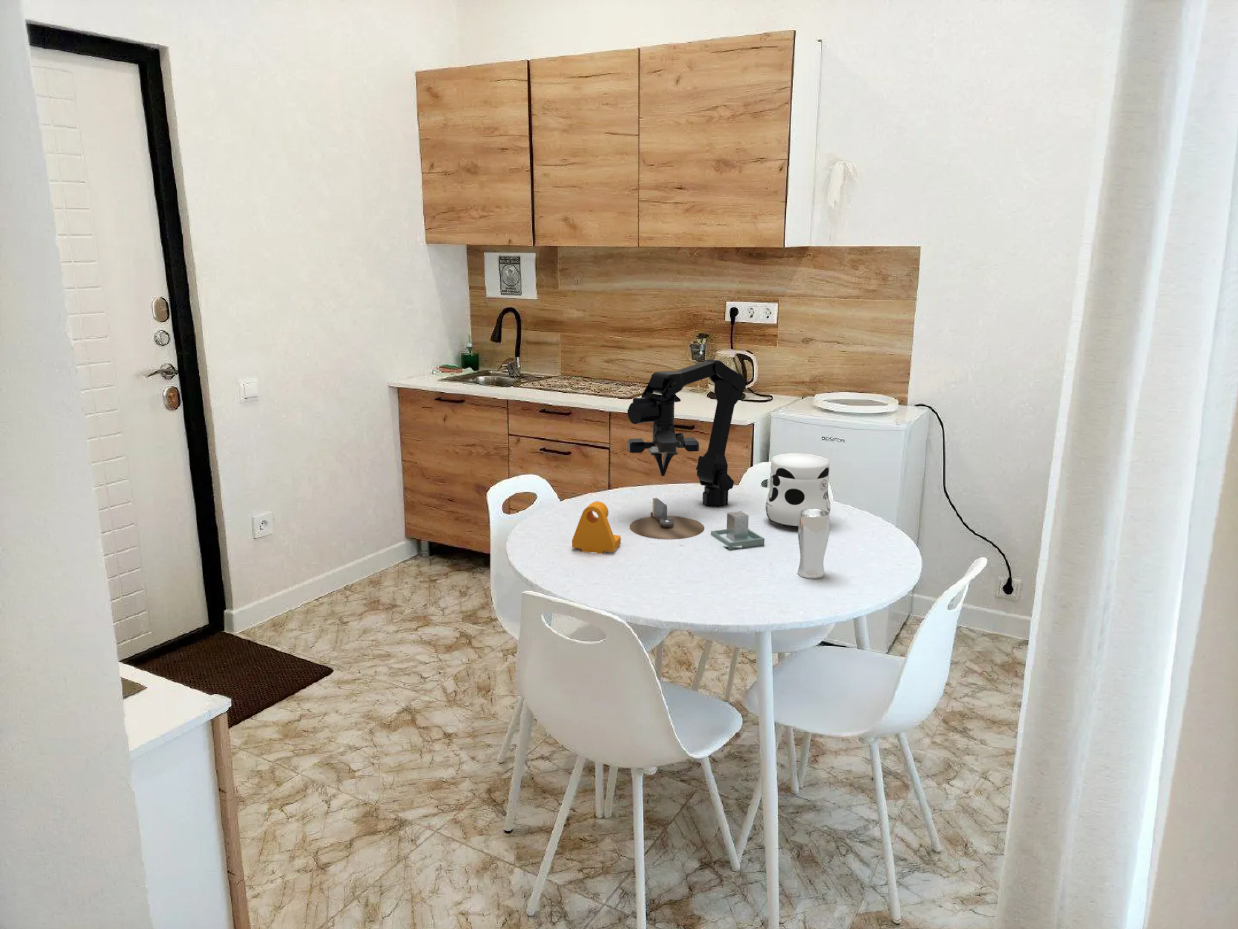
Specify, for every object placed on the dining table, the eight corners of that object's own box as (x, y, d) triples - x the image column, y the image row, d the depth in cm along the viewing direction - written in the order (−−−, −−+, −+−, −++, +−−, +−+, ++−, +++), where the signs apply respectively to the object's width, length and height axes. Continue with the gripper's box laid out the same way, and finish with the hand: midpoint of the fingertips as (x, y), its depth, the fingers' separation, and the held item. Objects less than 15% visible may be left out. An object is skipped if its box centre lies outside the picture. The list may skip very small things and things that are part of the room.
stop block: (740, 536, 226) (740, 511, 224) (747, 541, 222) (748, 515, 220) (726, 538, 224) (727, 512, 222) (733, 543, 221) (734, 517, 219)
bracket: (621, 545, 221) (621, 500, 218) (613, 555, 214) (613, 508, 211) (581, 541, 224) (581, 496, 221) (572, 550, 217) (571, 504, 214)
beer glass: (793, 568, 205) (796, 507, 201) (823, 569, 205) (827, 508, 201) (798, 579, 198) (801, 516, 195) (829, 580, 198) (833, 517, 194)
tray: (744, 534, 229) (744, 526, 229) (764, 545, 220) (764, 538, 220) (710, 538, 226) (711, 531, 225) (729, 550, 217) (729, 543, 216)
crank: (675, 526, 231) (676, 508, 229) (663, 528, 229) (663, 509, 228) (660, 515, 241) (660, 497, 239) (648, 516, 239) (648, 498, 238)
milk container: (842, 525, 236) (847, 461, 232) (797, 537, 227) (800, 470, 222) (796, 510, 250) (799, 449, 246) (751, 520, 241) (754, 457, 236)
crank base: (684, 515, 245) (684, 508, 244) (717, 537, 227) (717, 529, 226) (618, 523, 238) (618, 516, 237) (647, 546, 219) (647, 538, 219)
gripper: (632, 426, 224) (632, 484, 228) (703, 424, 226) (702, 482, 230) (627, 418, 235) (627, 474, 238) (695, 416, 237) (694, 472, 241)
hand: (662, 475), depth 237 cm, fingers closed
